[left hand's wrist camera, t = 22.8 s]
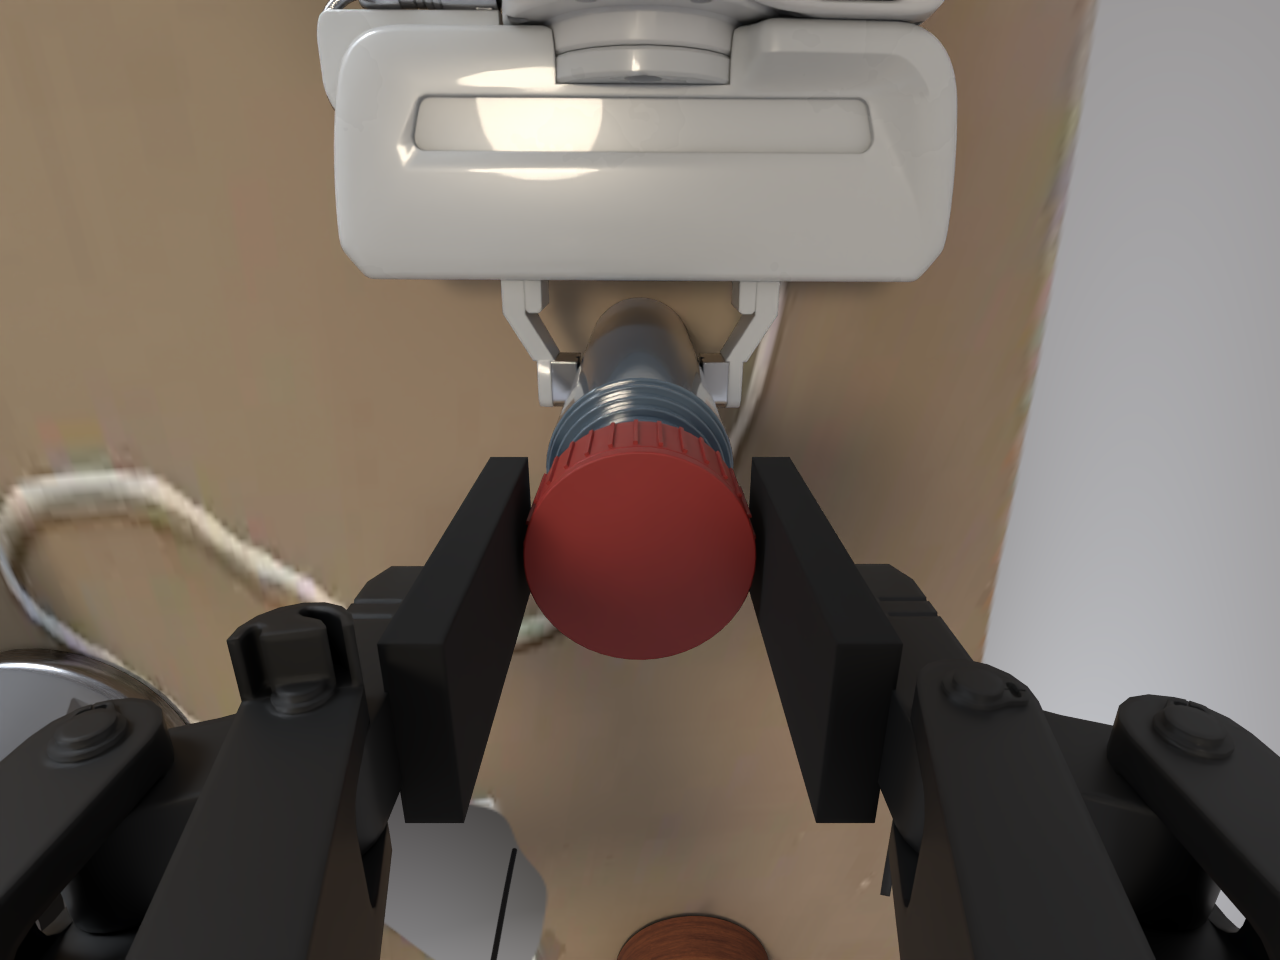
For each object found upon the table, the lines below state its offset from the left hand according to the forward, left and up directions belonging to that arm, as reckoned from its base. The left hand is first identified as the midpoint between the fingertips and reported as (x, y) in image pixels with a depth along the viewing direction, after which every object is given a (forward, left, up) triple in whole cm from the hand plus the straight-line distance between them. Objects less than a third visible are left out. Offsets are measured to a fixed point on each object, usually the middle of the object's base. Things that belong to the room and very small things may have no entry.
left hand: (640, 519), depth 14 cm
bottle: (0, 0, -19) cm, 19 cm away
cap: (0, 0, +2) cm, 2 cm away
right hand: (-1, 0, -13) cm, 13 cm away
